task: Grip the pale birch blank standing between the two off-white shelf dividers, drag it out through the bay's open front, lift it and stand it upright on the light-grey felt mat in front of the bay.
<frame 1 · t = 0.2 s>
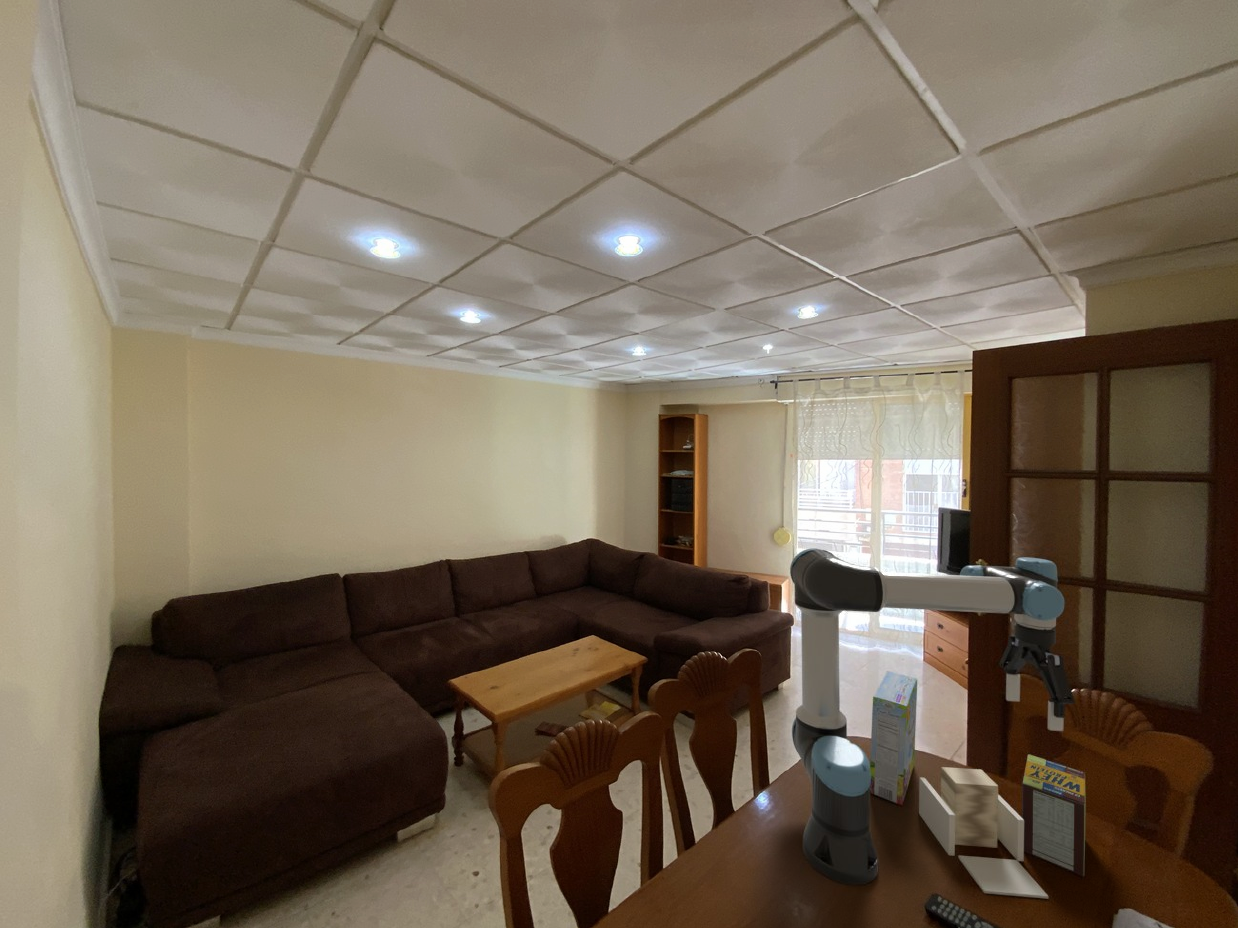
hand: (1032, 714, 117), 27 cm above the table, fingers open, 13 cm apart
shelf bay: (967, 835, 116), on the table
blank: (967, 835, 116), on the table
snack box: (893, 780, 136), on the table
felt mat: (1001, 876, 104), on the table
protein box: (1053, 845, 113), on the table
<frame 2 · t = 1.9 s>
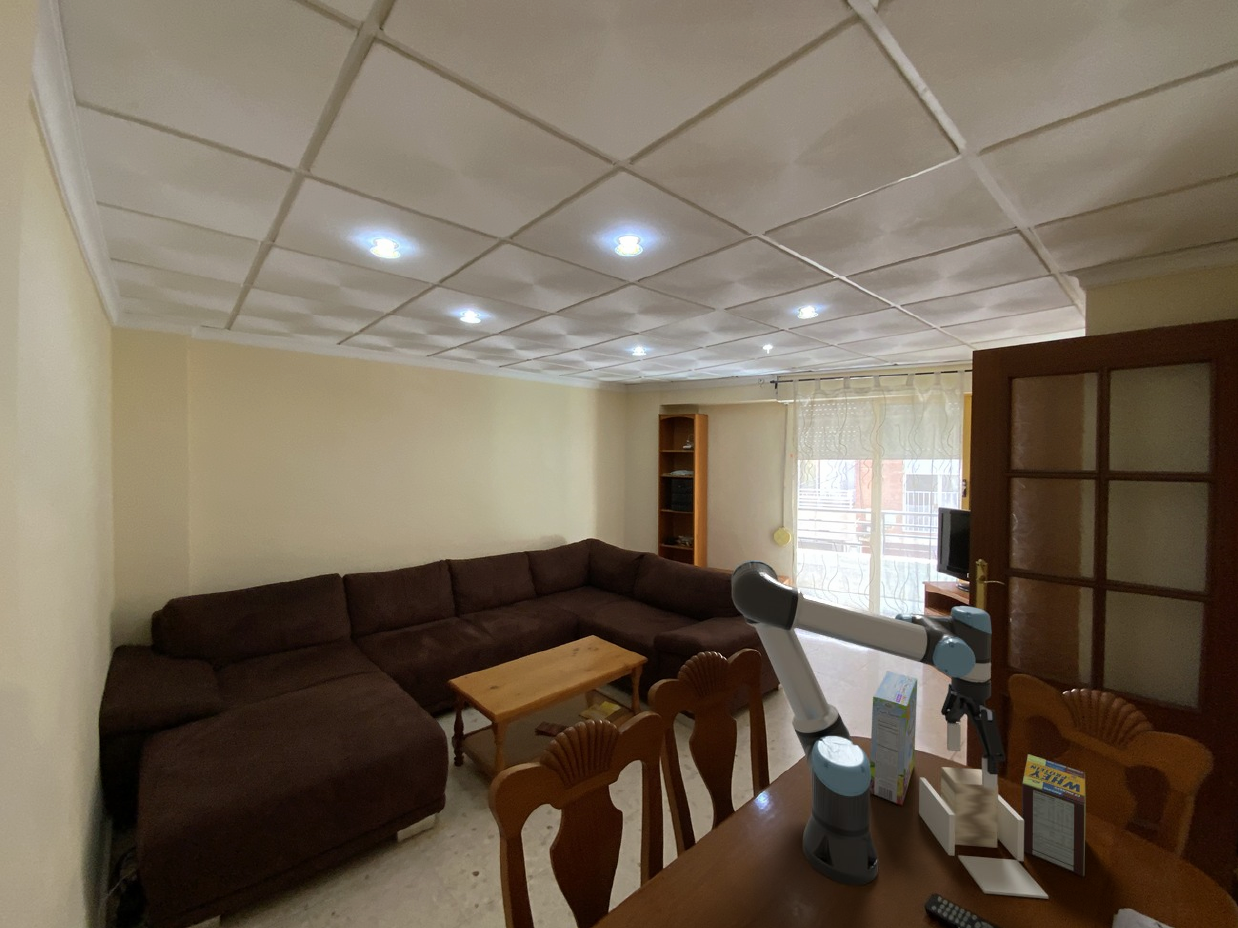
hand: (970, 767, 115), 16 cm above the table, fingers open, 13 cm apart
nothing on the table moved.
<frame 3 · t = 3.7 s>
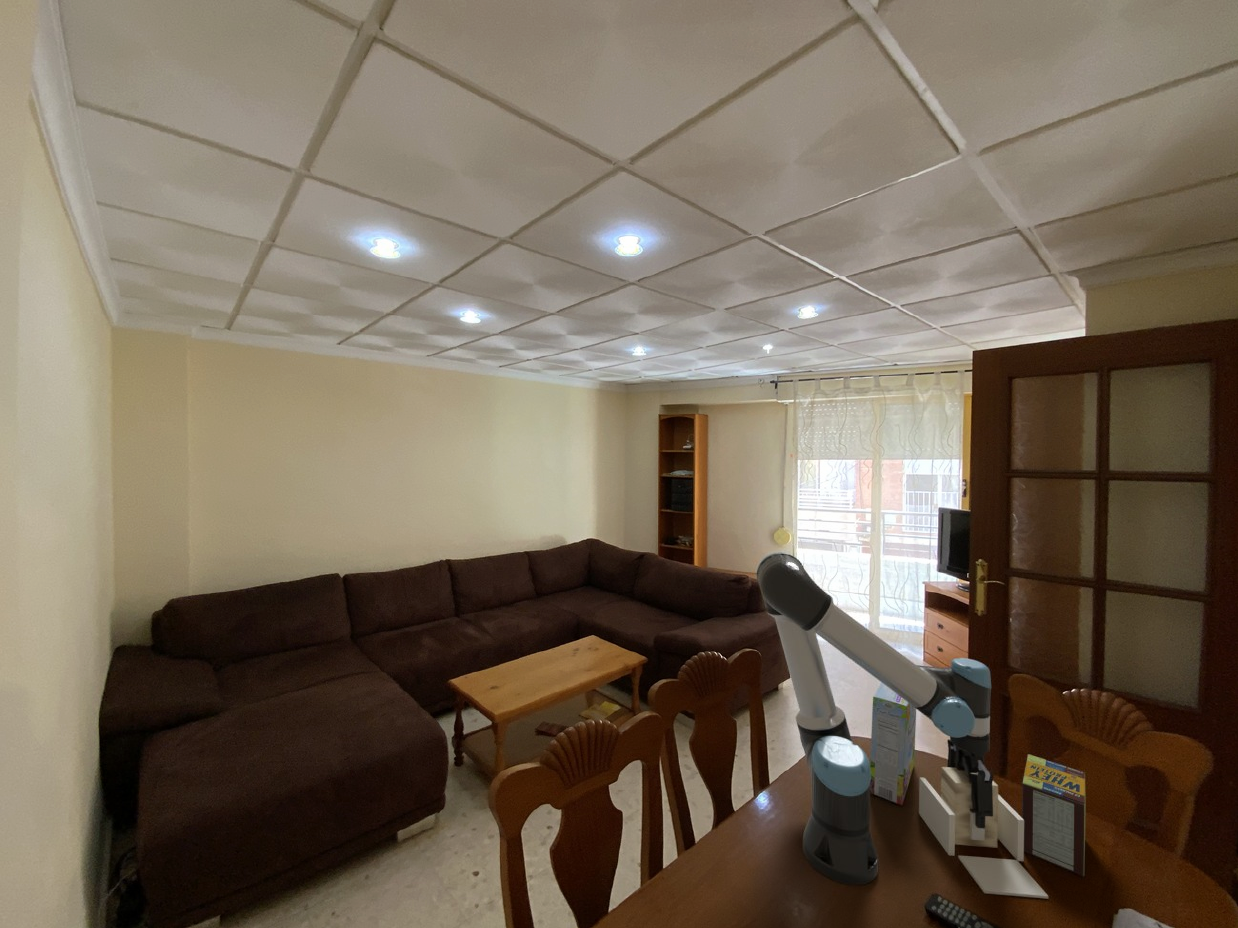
hand: (968, 827, 116), 2 cm above the table, fingers closed on blank, 6 cm apart
blank: (968, 835, 116), on the table, touching gripper
everything else where it was.
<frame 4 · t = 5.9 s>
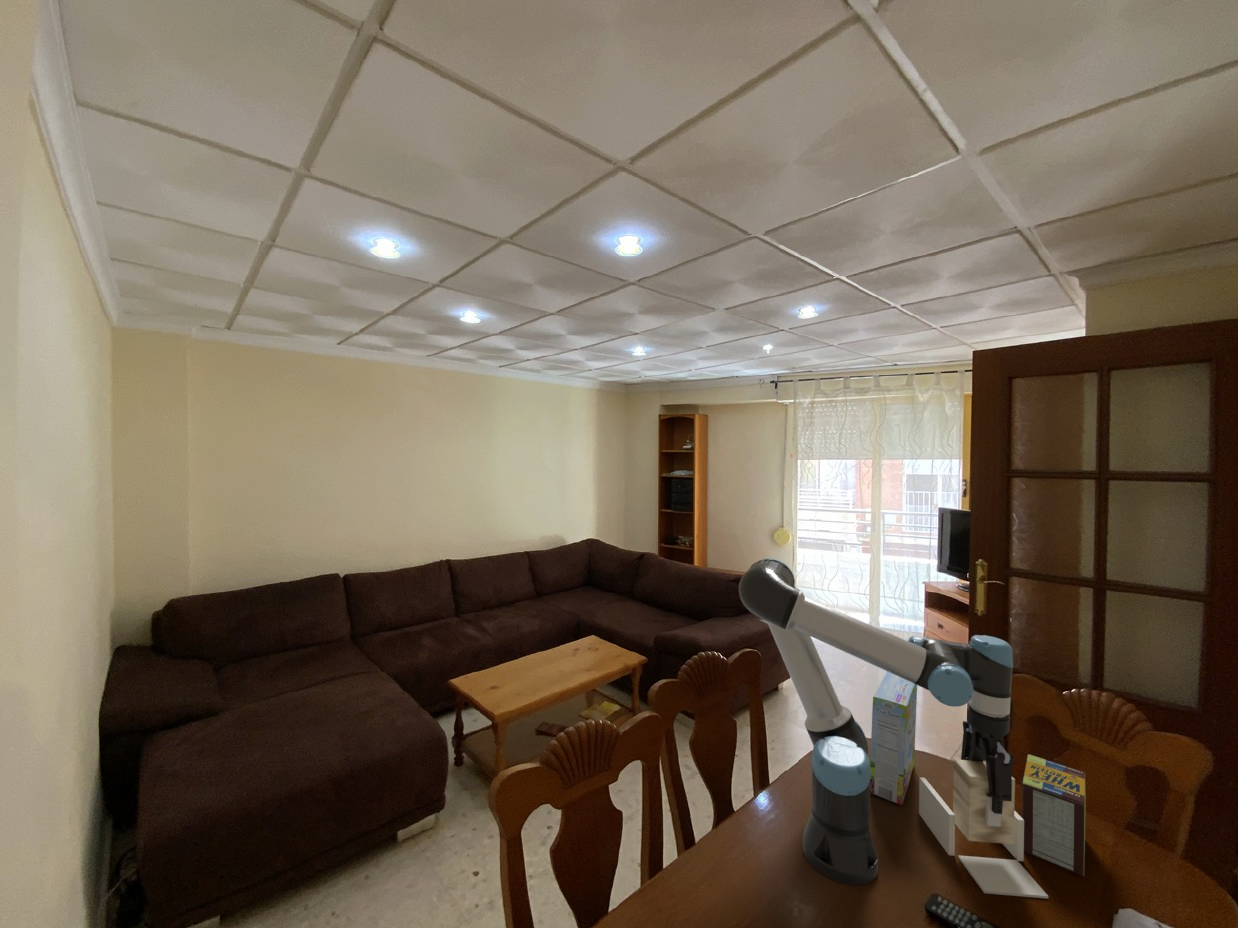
hand: (982, 813, 109), 10 cm above the table, fingers closed on blank, 6 cm apart
blank: (982, 831, 109), point 6 cm above the table, touching gripper
everything else where it was.
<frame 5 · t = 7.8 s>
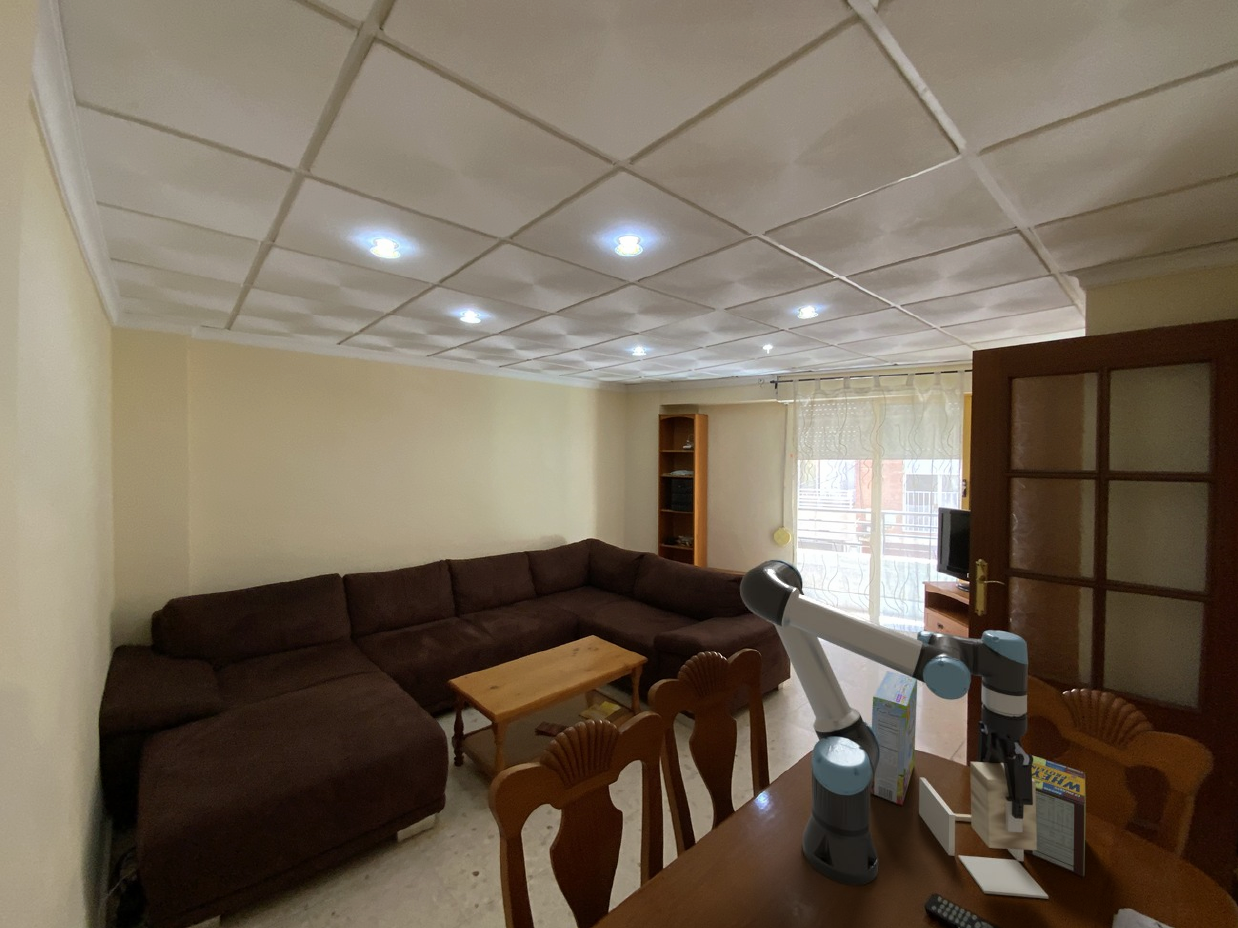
hand: (1002, 818, 104), 12 cm above the table, fingers closed on blank, 6 cm apart
blank: (1003, 837, 104), point 8 cm above the table, touching gripper
everything else where it was.
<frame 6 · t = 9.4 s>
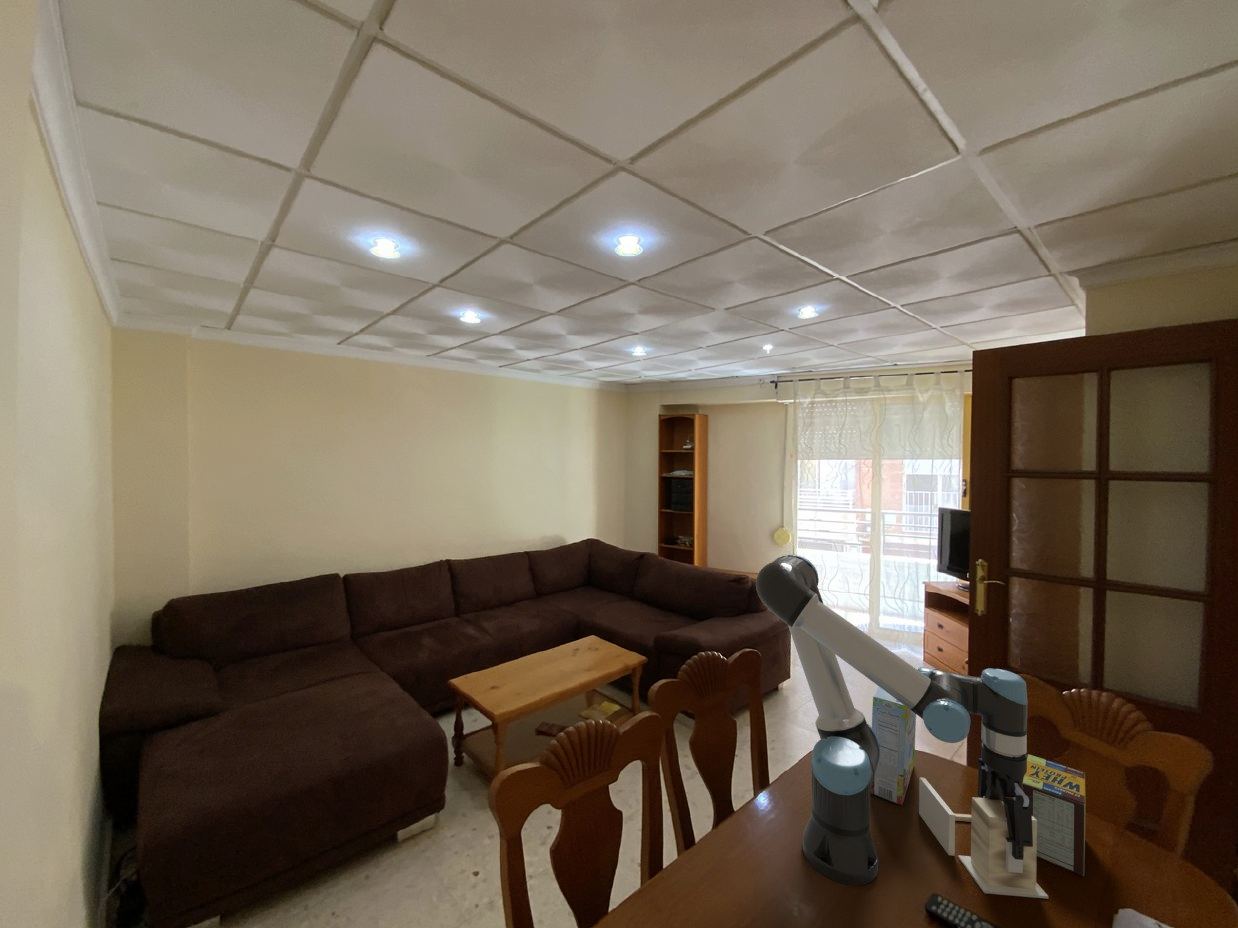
hand: (1003, 857, 104), 4 cm above the table, fingers closed on blank, 6 cm apart
blank: (1002, 874, 104), resting on felt mat, touching gripper
everything else where it was.
when the fingers open (4 cm above the table, at t = 9.5 s): blank stays where it is, resting on felt mat.
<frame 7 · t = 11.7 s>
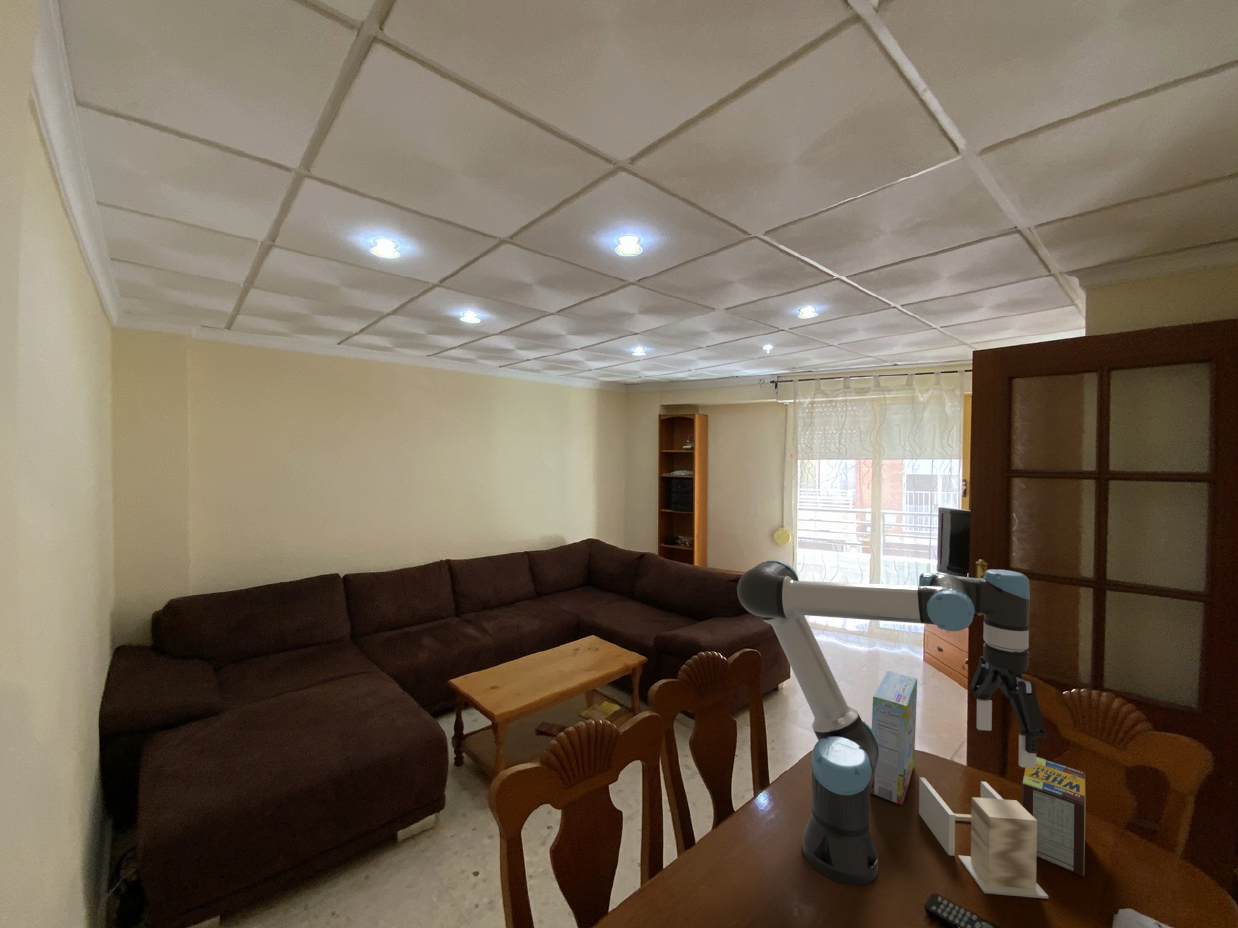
hand: (1004, 746, 104), 27 cm above the table, fingers open, 13 cm apart
blank: (1002, 874, 104), resting on felt mat
everything else where it was.
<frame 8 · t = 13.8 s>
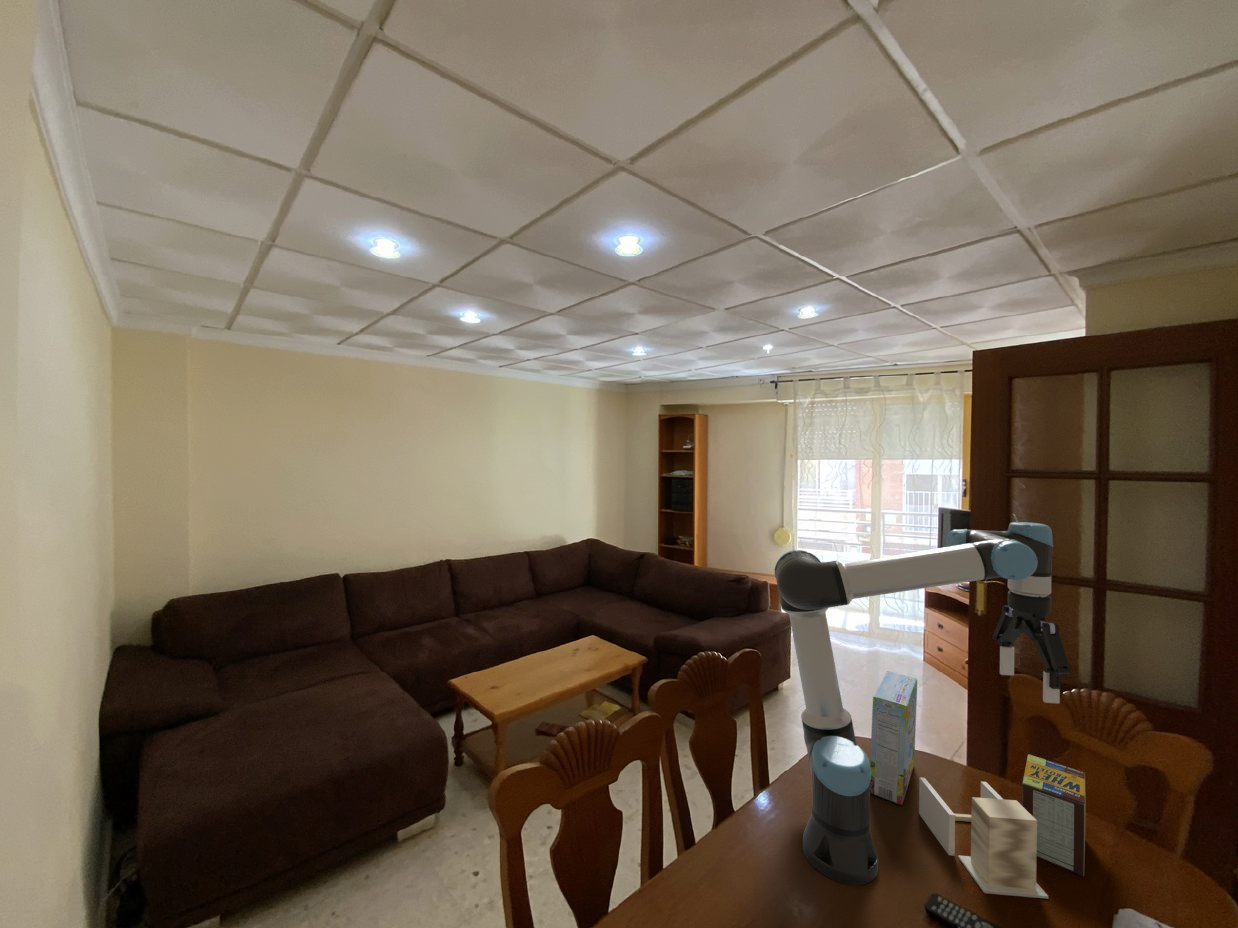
hand: (1027, 687, 111), 37 cm above the table, fingers open, 13 cm apart
nothing on the table moved.
at the end: blank inside the target area on the felt mat (0.2 cm from its centre), point 0.5 cm above the felt mat's base; blank tilted 0°; the gripper is holding nothing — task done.
